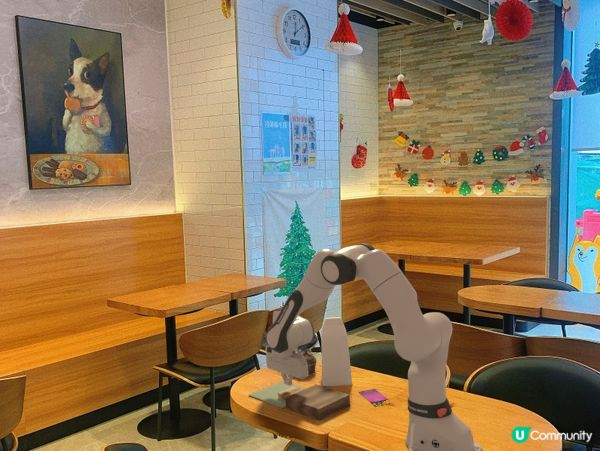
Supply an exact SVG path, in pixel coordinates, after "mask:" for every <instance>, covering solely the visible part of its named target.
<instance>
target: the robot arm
mask: <svg viewBox="0 0 600 451" xmlns="http://www.w3.org/2000/svg"><path fill="white" fill-rule="evenodd" d="M359 279H360V280H361V279H362V280H363V281H365V283H366V284H367V285H368V287H369V289H370V290H371V292H372V293H373V295H374V296H375V297H376V299H377V301H378V302H379V304H380V306H382V309H383V310H384V311H385V313H386V316H387V317H388V320H389V322H390V326H391V328H392V331H393V334H394V341H393V343H394V348H395V351H396V353H397V354H398V356H399V357H401V358H402V359H403V360H405V361H407V362H410V366H409V368H408V372H407V383H408V384H407V386H408V387H407V388H408V389H407V390H408V396H407V410H408V429H407V434H406V438H405V445H406V446H407V448H408V450H409V451H483V449H482V445H481V444H480V443H478V442H476V441H474V437H473V432H472V430H471V428H470V427H469V426H468V425H467V424H465V422H464V421H462V419H460V418H459V417H458V415H456V413H455V412H454V411H453V409H452V408H454V407H455V402H452V403H451V404H450V402H449V399H448V397H447V392H446V391H447V385H446V384H447V383H446V382H447V381H446V370H447V363H448V362H447V361H448V356H449V355H448V354H449V348H450V340H451V338H452V335H453V324H452V322H451V320H450V318H449V317H448V316H447V315H445V314H444V313H442V312H437V311H436V312H435V311H434V312H433V311H432V312H427V313H424V314H423V312H422V310H421V308H420V305H419V301H418V293H417V291H416V290H415V288H414V287H413V286H412V284H411V283H410V281H409V279H408V278H407V277H406V275H405V274H404V272H403V271H402V270H401V269H400V267H399V266H398V264H397V263H396V262H395V261H394V259H392V258H391V257H390V256H389V255H388V253H386V252H385V251H384V250H382V249H379V248H377V249H376V248H375V247H374V246H373V245H371V244H369V243H365V242H364V243H363V242H362V243H356V244H354V245H350V246H345V247H342V248H340V249H338V250H336V251H335V250H333V249H330V248H322V249H320V250H318V251H317V252H316V254H315V255H314V256H313V258H312V260H311V261H310V263H309V265H308V267H307V269H306V271H305V273H304V276H303V278H302V279H301V281H300V283H299V284H298V286H297V287H296V288H295V289H294V290H293V291H292V292H291V294H290V295H289V296H288V297H287V299H286V301H285V303H284V305H283V306H282V307H280V308H277V309H274V311H273V314H272V324H271V325H270V326H269V327H268V328H267V332H266V334H265V335H266V336H265V337H266V338H265V341H266V344H267V345H266V346H265V349H264V350H265V363H266V368H267V369H268V370H271V371H275V372H277V373H280V376H281V378H282V381H284V384H286V385H289V386H290V385H292V384H293V379H294V377H295V378H298V379H302V380H303V379H306V378H307V377H308V376H309V375H308V366H307V361H306V358H305V356H304V355H303V354H302V353H299V352H298V351H299V350H298V347H301V346H304V345H308V344H310V343H311V342H312V341H313V340H314V337H315V328H314V325H313V324H312V323H313V322H311V321H310V320H309V319H307V318H304V317H302V316H300V315H301V314H302V313H304V312H305V311H306V310H308V309H311V307H314V306H316V305H319V304H321V303H324V302H325V301H326V300H328V298H329V297H330V296H331V294H332V293H333V292H334V290H335V287H336V286H341V285H342V286H343V285H347V284H348V283H352V282H354V281H357V280H359Z"/></svg>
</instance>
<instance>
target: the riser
mask: <svg viewBox="0 0 600 451" xmlns="http://www.w3.org/2000/svg"><path fill="white" fill-rule="evenodd" d="M350 395H351V394H349V393H345V392H342V391H339V390H335V389H334V388H329V387H327V386H322V385H319V384H314V385H311V386H309V387H307V388H306V389H304V390H302V391H299V392H297V393H294V394H292V395H290V396H287V397H285V401H286V408H285V409H287V410H290V411H293V412H296V413H299V414H301V415H304V416H306V417H309V418H312V419H314V420H317V421H321V420H324V419H325V418H327V417H329V416H331V415H333V414H336V413H337V412H338V413H339V411H341V410H344V409H346V408H348V407H350V406H351V397H350Z"/></svg>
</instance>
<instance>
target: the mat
mask: <svg viewBox="0 0 600 451" xmlns="http://www.w3.org/2000/svg"><path fill="white" fill-rule="evenodd" d="M291 387H296V388H299V389H302V390H304V389H306V388H305V387H302V386H300V385H296V384H293V383H292V385H290V386H289V385H286V384H284V380H282V381H278V382H277V383H274V384H271V385H269V386H267V387H264V388H262V389H259V390H257V391H254V392H252V393H249V394H248V396H249V397H250V396H251V398H254V399H256V400H259V401H260V402H263V403H266V404H267V403H268V404H269V405H271V406H275V407H278V408H281V409H287V408H286V401H285V400H282V399H279V398H278V393H279V392H282V391H284V390H286V389H289V388H291Z"/></svg>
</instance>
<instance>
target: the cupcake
mask: <svg viewBox="0 0 600 451" xmlns="http://www.w3.org/2000/svg"><path fill="white" fill-rule="evenodd" d="M298 353H302V354H303V355H304V356H305V358H306V361H307V366H308V376H311V375H314V374H315V373H316V367H317V366H316V365H317V363H318V362H317V358H316V357H315V354H314V353H313V352H312V349H311V348H310V347H309V348H300V349H299V350H298Z"/></svg>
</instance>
